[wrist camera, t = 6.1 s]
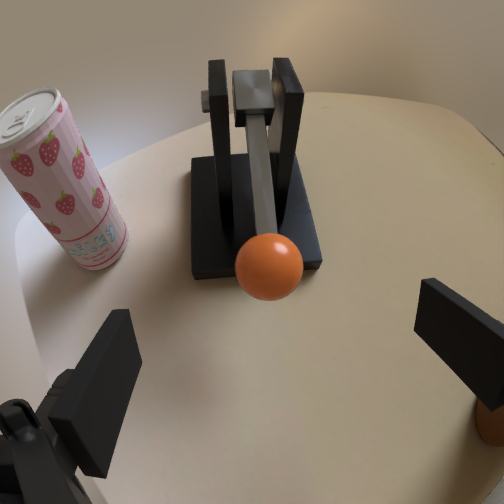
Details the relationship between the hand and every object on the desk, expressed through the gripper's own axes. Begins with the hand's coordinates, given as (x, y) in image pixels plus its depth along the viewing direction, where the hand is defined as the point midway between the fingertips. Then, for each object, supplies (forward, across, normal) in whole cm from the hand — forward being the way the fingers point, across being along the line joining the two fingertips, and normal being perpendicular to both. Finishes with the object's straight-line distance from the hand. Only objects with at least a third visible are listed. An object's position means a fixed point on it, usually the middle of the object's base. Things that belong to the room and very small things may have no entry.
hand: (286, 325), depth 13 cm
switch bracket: (+16, 0, +2) cm, 16 cm away
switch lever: (+8, 0, +5) cm, 9 cm away
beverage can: (+15, -14, +1) cm, 20 cm away
